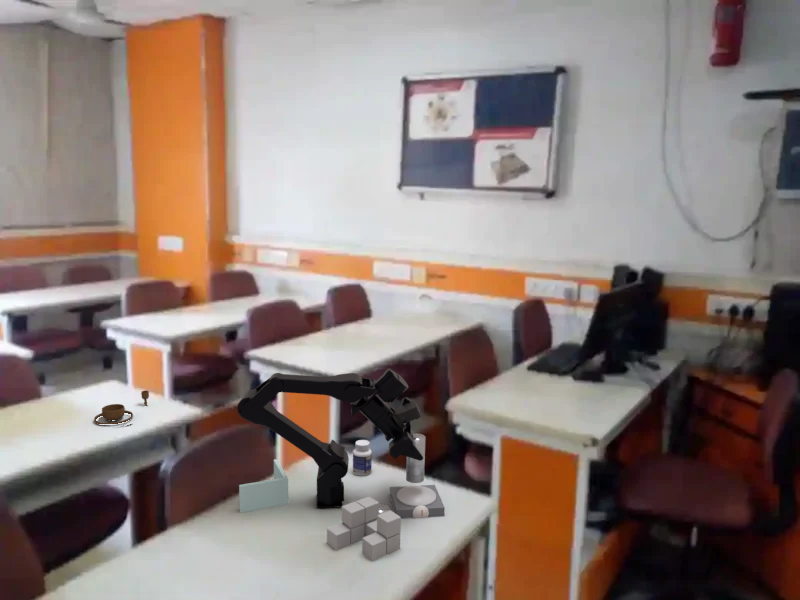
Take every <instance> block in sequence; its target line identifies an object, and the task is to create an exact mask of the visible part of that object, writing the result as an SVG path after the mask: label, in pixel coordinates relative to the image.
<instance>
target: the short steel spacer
mask: <svg viewBox="0 0 800 600" xmlns="http://www.w3.org/2000/svg"><path fill="white" fill-rule="evenodd" d="M387 511H390V506H388V505H387V504H383V503H382V504H381V503H379V514H382V513H385V512H387Z"/></svg>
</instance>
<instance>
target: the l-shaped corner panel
mask: <svg viewBox="0 0 800 600" xmlns="http://www.w3.org/2000/svg"><path fill="white" fill-rule="evenodd" d="M238 487H239V488H238V489H239V490H238V493H239V496H238V497H239V512H240V514H242V513H247V512H254V511H258V510H264V509H269V508H274V507H279V506H280V507H281V506H286V505H289V478H288V476H287V474H286V473H285V471H284V469H283V467H282V465H281V463H280V461H279V460H278V459H277V458H276V459H275V458H274V459H273V479H268V480H261V481H256V482H250V483H249V482H248V483H243V484H239V485H238Z"/></svg>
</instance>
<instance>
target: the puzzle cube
mask: <svg viewBox="0 0 800 600" xmlns="http://www.w3.org/2000/svg"><path fill="white" fill-rule="evenodd" d="M379 504H380V502H378V501H377V500H375V499H374V498H373V497H371V496H366V497H363V498H361V499H358V500H356V501H353V502H350V503H346V504H345V505H343V506H342V507H341V522H339V523H337V524H334V525H332V526H330V527H327V528H326V544H328V545H329V547H331V548H332V549H333V550H334V551H339V550H341V549H343V548H345V547H348V546H350V545H353V544H355V543H358V542H360V541H362V542H361V543H362V544H361V548H362V549H361V550H362V551H361V553H362V554H363V555H364V556H365V557H367V558H368V559H370V561H372V562H373V561H375V560H378V559H380V558H382V557H384V556H386V555H388V554H391V553H393V552H396V551H398V550H400V549H401V529H402V528H401V527H402V523H401V522H402V518H401V517H400V516H398V515H397V514H395V512H394V511H392V510H390V509H389V511H387V512H385V513H382V514H379Z"/></svg>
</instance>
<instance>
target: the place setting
mask: <svg viewBox="0 0 800 600" xmlns="http://www.w3.org/2000/svg"><path fill="white" fill-rule="evenodd" d="M140 394H141V398H142V400H143V401H144V403H143V405H144V406H145V405H147V406H148V402H147V401H148V399H149V397H150V393H149V390H142V391H141V393H140ZM124 413H128V414H131V417H128V418H125V419H124V420H123V419H122V418H123V417H124V416H125V415H124ZM100 416H103V418H102V419H104V420H106V421H108V420H110V421H112V420H118V419H120V420H118V421H114V422H110V421H109V422H100V421H99V420H98V421H96V419H97V418H98V417H100ZM133 417H134V414H133V412H132V411H130V410H126V408H125V405H123V404H120V403H112V404H108V405H107V404H106V405H104V406H103V407H102V408H101V413H99V414H96V415H95V416H94V418H93V421H94V423H95V422H96V423H98V424H118V423H122V422H126V421H128V420H130V419H131V420H132V419H133ZM121 419H122V420H121ZM131 420H130V421H131ZM96 423H95V424H96ZM98 424H97V425H98Z"/></svg>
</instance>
